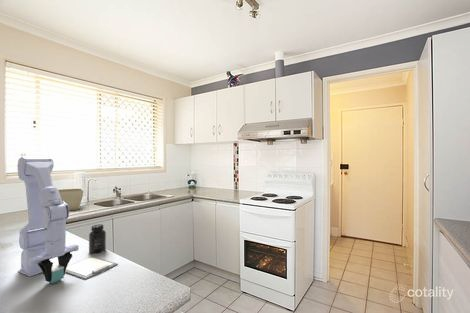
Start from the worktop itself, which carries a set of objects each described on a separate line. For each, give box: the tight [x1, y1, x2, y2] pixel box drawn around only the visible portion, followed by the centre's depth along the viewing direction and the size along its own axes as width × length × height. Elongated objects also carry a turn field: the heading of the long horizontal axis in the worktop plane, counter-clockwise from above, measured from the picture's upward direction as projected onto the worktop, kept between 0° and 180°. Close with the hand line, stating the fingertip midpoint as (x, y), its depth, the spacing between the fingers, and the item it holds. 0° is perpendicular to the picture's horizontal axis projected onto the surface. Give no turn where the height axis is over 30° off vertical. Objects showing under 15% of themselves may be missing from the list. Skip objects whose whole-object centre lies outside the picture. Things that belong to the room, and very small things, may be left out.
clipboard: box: [65, 256, 118, 281], centre depth 91 cm, size 16×13×1 cm
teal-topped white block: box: [48, 264, 65, 285], centre depth 81 cm, size 4×4×5 cm
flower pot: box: [58, 188, 85, 212], centre depth 199 cm, size 19×19×17 cm
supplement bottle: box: [88, 223, 107, 255], centre depth 108 cm, size 7×7×12 cm
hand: (55, 278), depth 81 cm, fingers closed on teal-topped white block, 4 cm apart
